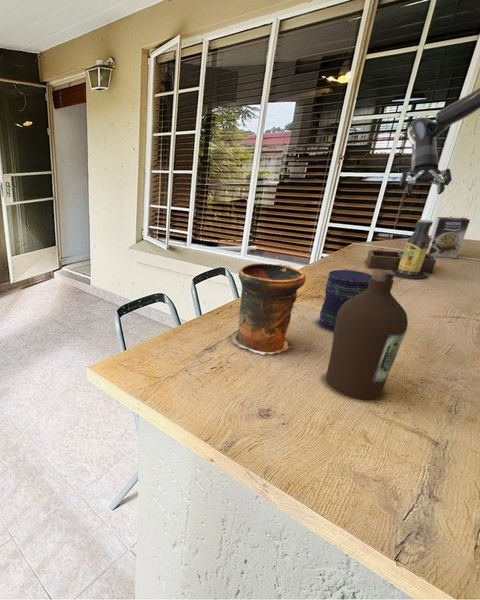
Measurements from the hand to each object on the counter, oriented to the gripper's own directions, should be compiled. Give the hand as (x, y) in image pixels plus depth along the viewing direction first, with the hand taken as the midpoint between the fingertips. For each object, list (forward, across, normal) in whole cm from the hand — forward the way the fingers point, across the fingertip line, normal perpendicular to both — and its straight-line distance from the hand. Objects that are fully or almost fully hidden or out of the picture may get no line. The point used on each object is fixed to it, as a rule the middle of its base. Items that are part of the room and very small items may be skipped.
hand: (425, 193), depth 133 cm
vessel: (+85, -48, -45) cm, 108 cm away
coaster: (+31, -2, +9) cm, 32 cm away
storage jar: (+72, -30, -32) cm, 84 cm away
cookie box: (+7, +16, +34) cm, 38 cm away
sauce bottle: (+31, -2, +9) cm, 32 cm away
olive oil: (+94, -30, -54) cm, 113 cm away
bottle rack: (+23, -3, +17) cm, 29 cm away
